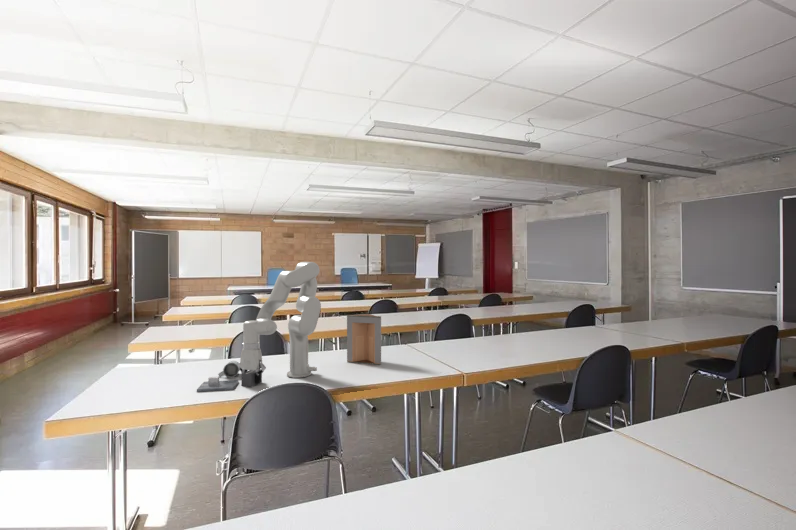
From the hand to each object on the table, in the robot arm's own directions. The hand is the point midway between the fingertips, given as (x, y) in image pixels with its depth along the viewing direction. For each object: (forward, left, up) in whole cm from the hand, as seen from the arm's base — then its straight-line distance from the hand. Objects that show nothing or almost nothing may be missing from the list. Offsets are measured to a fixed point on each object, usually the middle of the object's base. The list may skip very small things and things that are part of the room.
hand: (251, 381), depth 201 cm
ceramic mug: (+14, -17, -1) cm, 22 cm away
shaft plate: (+15, +2, -1) cm, 15 cm away
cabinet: (-60, -33, -1) cm, 69 cm away
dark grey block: (0, 0, -1) cm, 1 cm away
